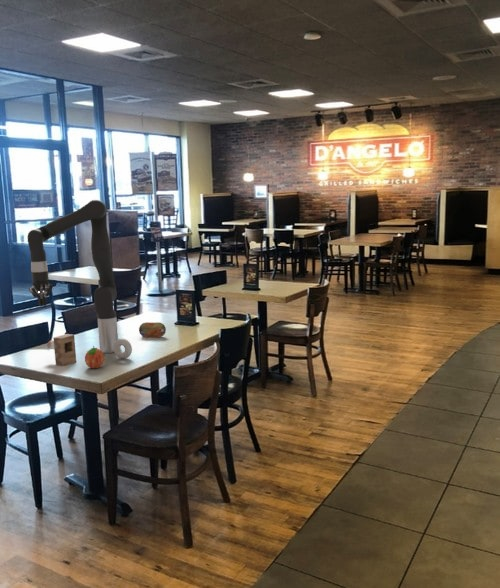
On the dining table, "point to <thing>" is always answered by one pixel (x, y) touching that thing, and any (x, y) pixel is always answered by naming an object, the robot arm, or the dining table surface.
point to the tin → (152, 329)
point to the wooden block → (61, 354)
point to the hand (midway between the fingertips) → (42, 305)
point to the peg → (51, 344)
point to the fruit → (94, 358)
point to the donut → (126, 345)
